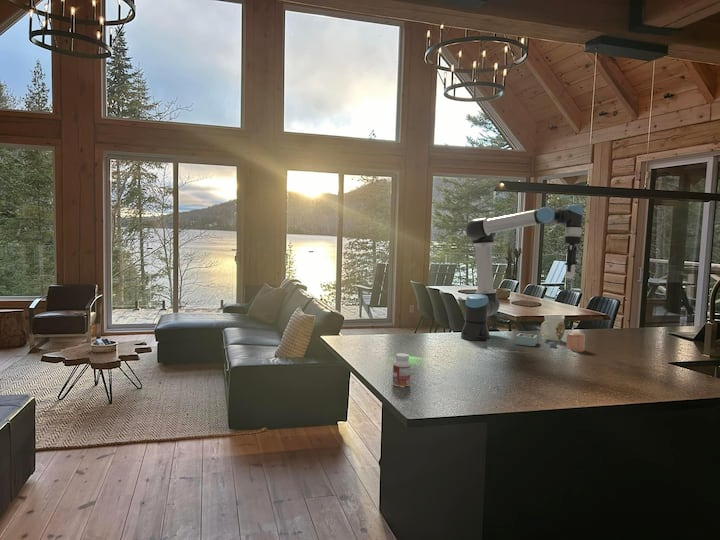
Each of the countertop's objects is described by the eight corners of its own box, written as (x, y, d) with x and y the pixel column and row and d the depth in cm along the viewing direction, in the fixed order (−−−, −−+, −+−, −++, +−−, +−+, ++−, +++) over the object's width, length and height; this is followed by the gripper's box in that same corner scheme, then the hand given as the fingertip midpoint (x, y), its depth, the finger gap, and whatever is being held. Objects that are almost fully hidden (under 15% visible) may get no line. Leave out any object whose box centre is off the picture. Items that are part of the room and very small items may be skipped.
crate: (515, 345, 268) (515, 335, 267) (518, 342, 276) (519, 333, 275) (534, 347, 263) (534, 337, 263) (537, 344, 272) (537, 335, 271)
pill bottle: (391, 382, 190) (392, 352, 190) (408, 383, 191) (409, 352, 190) (394, 387, 184) (395, 356, 184) (411, 387, 185) (412, 356, 184)
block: (522, 344, 268) (523, 336, 268) (521, 342, 272) (522, 334, 272) (530, 344, 267) (531, 336, 267) (530, 343, 271) (530, 335, 271)
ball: (548, 348, 262) (549, 342, 262) (549, 347, 265) (550, 341, 265) (556, 349, 261) (556, 342, 260) (556, 348, 264) (557, 341, 263)
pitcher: (532, 340, 283) (533, 315, 282) (554, 338, 292) (555, 313, 291) (549, 344, 273) (550, 318, 273) (571, 341, 283) (572, 316, 282)
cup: (565, 350, 260) (566, 334, 260) (567, 347, 267) (568, 331, 267) (583, 352, 257) (584, 336, 256) (584, 349, 264) (585, 333, 263)
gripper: (578, 235, 253) (575, 279, 255) (583, 236, 275) (580, 277, 277) (562, 235, 257) (559, 278, 258) (567, 236, 279) (565, 275, 280)
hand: (570, 277), depth 267 cm, fingers open, 13 cm apart
